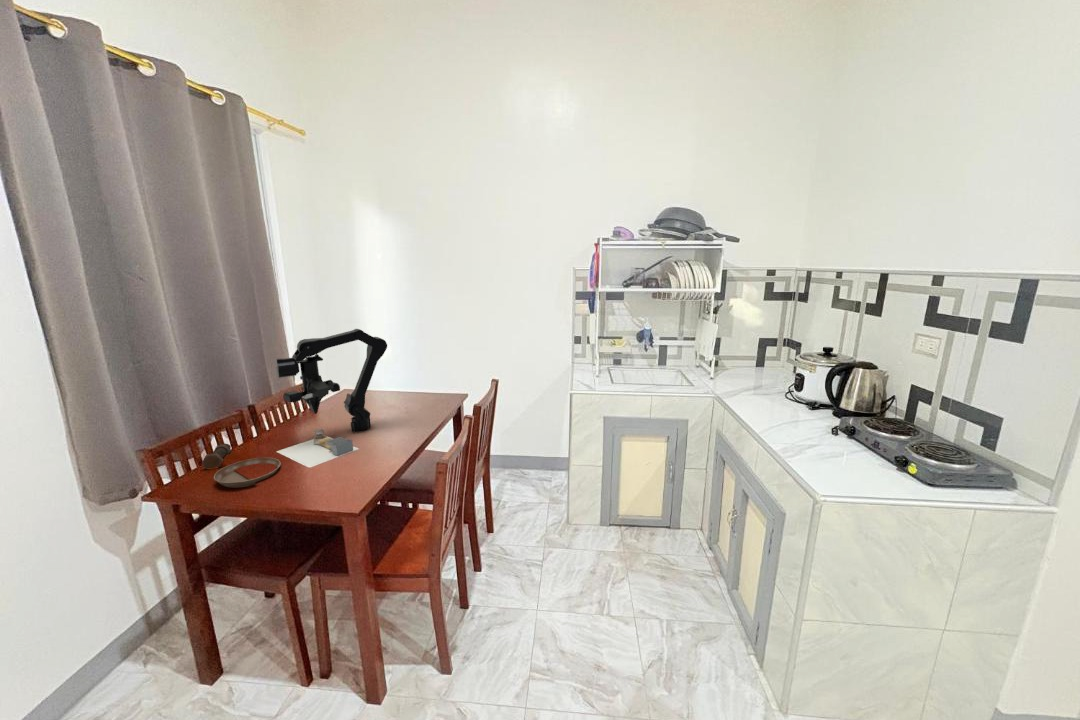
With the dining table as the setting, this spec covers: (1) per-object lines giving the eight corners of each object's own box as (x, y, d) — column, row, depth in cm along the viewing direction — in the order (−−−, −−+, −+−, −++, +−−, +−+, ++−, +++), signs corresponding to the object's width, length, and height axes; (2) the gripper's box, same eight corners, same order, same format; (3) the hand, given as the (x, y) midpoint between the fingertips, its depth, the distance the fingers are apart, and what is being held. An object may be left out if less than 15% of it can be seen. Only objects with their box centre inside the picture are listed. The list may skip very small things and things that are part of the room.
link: (311, 442, 162) (310, 431, 161) (323, 439, 165) (321, 427, 164) (332, 452, 153) (331, 440, 152) (344, 447, 157) (343, 436, 156)
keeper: (342, 445, 159) (341, 436, 158) (353, 450, 155) (352, 440, 154) (326, 451, 154) (325, 441, 154) (337, 456, 150) (336, 446, 150)
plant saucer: (283, 461, 151) (281, 452, 150) (279, 482, 135) (278, 473, 134) (221, 472, 143) (219, 463, 142) (210, 497, 127) (208, 487, 127)
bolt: (230, 456, 159) (216, 472, 145) (214, 451, 157) (199, 468, 143) (237, 442, 159) (224, 457, 145) (221, 437, 157) (207, 452, 143)
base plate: (325, 437, 170) (325, 435, 170) (359, 451, 157) (359, 448, 156) (276, 454, 155) (276, 451, 155) (309, 470, 142) (309, 467, 142)
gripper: (295, 382, 149) (301, 425, 152) (345, 371, 164) (350, 410, 167) (279, 377, 155) (285, 419, 159) (329, 367, 170) (334, 405, 174)
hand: (315, 413), depth 164 cm, fingers closed
